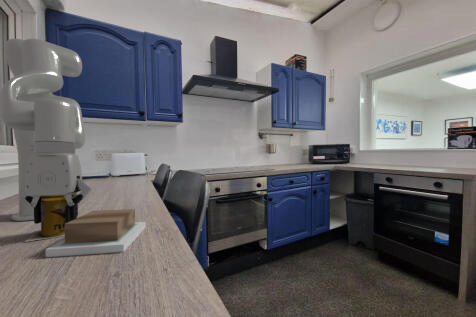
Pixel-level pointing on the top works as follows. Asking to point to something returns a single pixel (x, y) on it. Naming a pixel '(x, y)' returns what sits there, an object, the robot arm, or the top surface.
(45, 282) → the top surface
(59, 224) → the condiment
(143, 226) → the build board
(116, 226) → the base block
